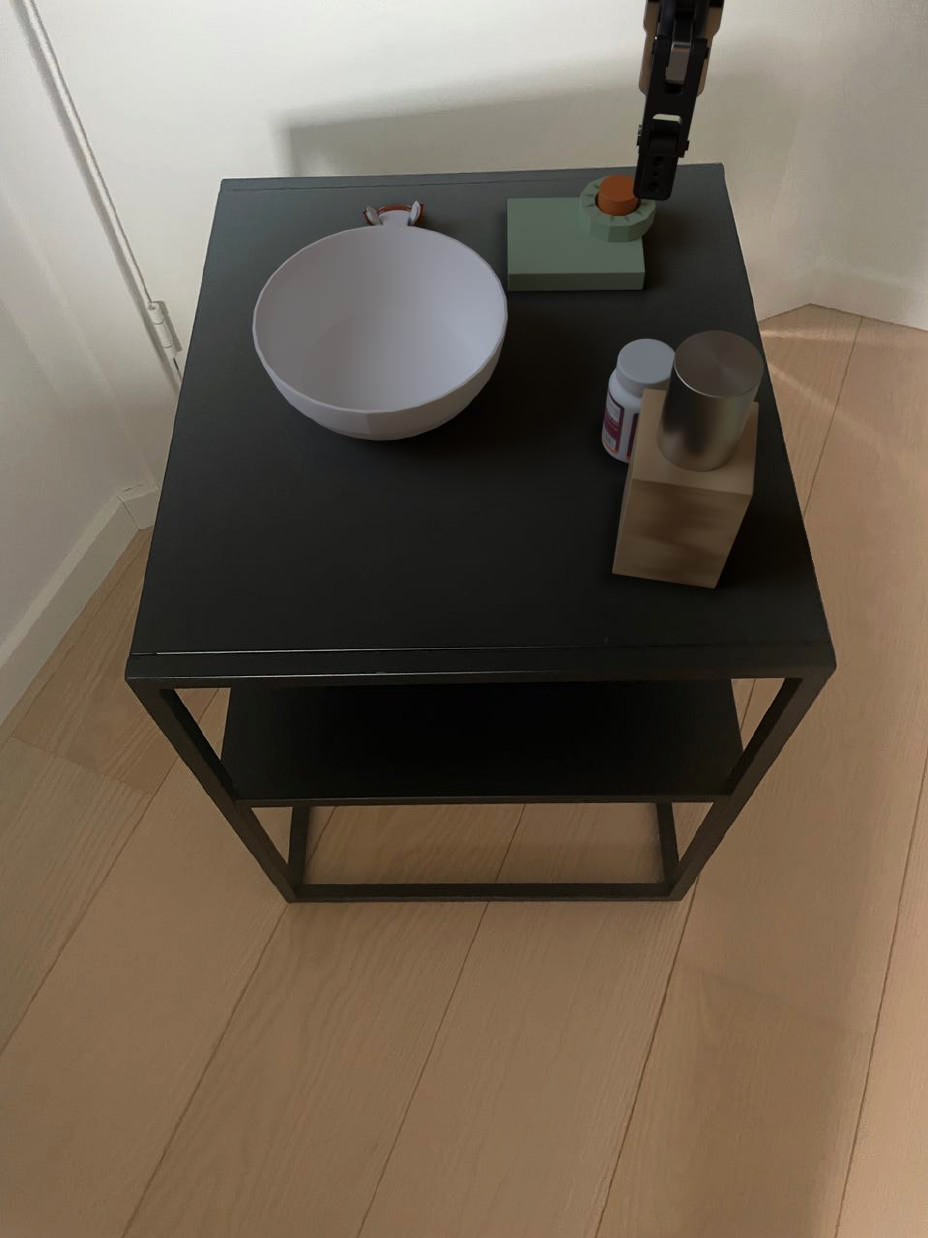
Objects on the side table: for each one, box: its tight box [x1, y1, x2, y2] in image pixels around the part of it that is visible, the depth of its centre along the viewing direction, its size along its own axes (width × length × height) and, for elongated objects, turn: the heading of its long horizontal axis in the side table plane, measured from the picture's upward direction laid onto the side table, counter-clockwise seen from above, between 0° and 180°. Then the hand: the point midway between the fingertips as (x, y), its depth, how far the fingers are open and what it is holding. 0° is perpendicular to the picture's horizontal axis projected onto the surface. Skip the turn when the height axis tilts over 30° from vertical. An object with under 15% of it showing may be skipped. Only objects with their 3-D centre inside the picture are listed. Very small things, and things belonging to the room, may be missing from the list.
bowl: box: [252, 225, 509, 441], centre depth 71 cm, size 18×18×7 cm
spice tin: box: [657, 330, 765, 471], centre depth 54 cm, size 5×5×6 cm
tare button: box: [598, 174, 638, 216], centre depth 78 cm, size 3×3×2 cm
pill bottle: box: [601, 338, 676, 464], centre depth 67 cm, size 5×5×8 cm
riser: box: [612, 388, 760, 589], centre depth 62 cm, size 7×7×11 cm
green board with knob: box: [506, 175, 657, 292], centre depth 79 cm, size 12×10×4 cm
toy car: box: [362, 200, 425, 227], centre depth 80 cm, size 5×8×3 cm, turn 2°
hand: (656, 147), depth 58 cm, fingers open, 8 cm apart
